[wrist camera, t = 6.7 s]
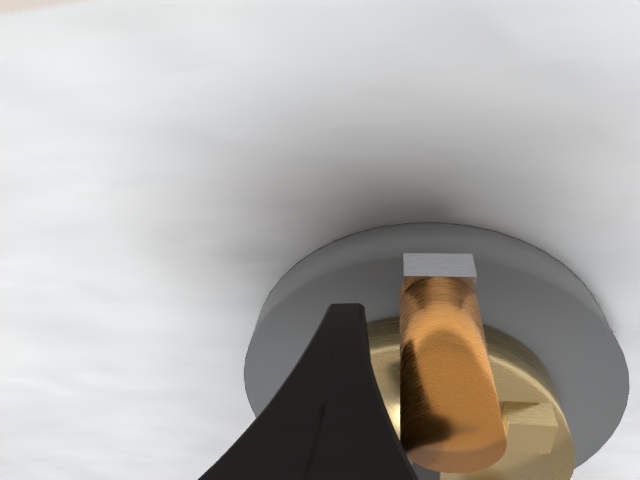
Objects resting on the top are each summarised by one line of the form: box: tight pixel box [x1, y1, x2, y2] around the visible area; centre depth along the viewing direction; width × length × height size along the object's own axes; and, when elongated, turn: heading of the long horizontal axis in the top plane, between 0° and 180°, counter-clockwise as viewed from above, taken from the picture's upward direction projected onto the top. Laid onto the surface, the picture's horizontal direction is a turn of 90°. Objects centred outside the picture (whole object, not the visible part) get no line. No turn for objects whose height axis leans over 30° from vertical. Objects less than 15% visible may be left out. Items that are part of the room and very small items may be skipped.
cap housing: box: [244, 223, 629, 469], centre depth 20 cm, size 15×15×2 cm
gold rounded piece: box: [367, 253, 575, 480], centre depth 15 cm, size 14×10×7 cm
